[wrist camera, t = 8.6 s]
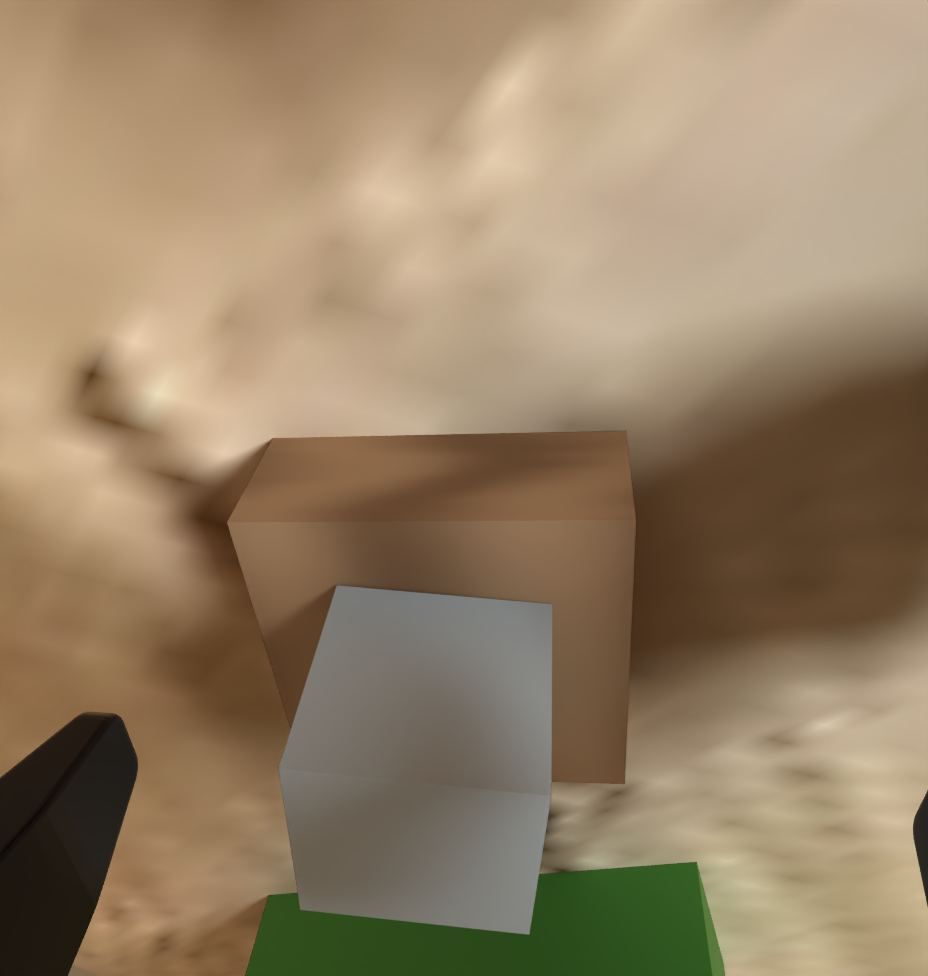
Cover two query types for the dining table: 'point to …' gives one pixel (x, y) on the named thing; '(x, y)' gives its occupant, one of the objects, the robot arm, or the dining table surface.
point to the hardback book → (513, 934)
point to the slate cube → (423, 760)
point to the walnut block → (457, 554)
